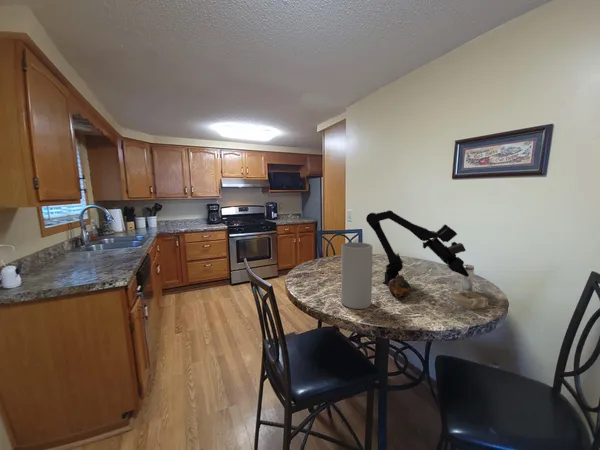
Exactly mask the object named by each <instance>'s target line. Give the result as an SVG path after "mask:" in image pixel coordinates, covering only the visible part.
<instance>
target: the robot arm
mask: <svg viewBox="0 0 600 450" xmlns="http://www.w3.org/2000/svg"><path fill="white" fill-rule="evenodd" d="M365 220H366V223H367V224H368V225H369V226H370V228H371V229H372V230H373V231H374V233H375V235H376V237H377V238H378V240H379V242H380V244H381V246H382V249H383V250H384V252H385V254H386V256H387V260H388V264H387V265H386V266H385V272H384V281H382V284H384V285H386V286H388V283H389V282H390V281H391V280H392V279H394V278H396V276H398V275H400V273H399V272H401V271H402V269H403V268H404V266H403V264H404V261H403V259H402V258H401V257H400V253H396V252H395V251H394V249H393V247H392V246H391V244H390V241H389V240H388V237H387V236H386V234H385V232H384V229H383V228H382V225H381V222H380V221H386V220H391V221H393V222H394V223H395V224H398V225H399V226H401V227H403V228H404V229H406V230H408V231H409V232H411V233H412V234H413V235H414V236H415V237H416V238H418V239H419V240H420V241H422V248H423V249H426V248H428V249H430V250H431V251H432V252H433V253H434V254H435V255H436V256H437V257H438V258H439V259H440V260H441V261H442V262H443V263H444V264H446V267H448V269H449V270H450V271H452V272H455V273H457V274H459V275H462V276H463V275H464V276H466V277H468V276H469V274H468V273H467V271H466V270H465V268H464V267H463V265H465V262H464V261H463V259H462V258H460V257H459V256H457V254H460V253H462V252H463V253H464V252H466V248H465V246H464V244H463V243H461V242H456V241H451V240H452V239H454V238H455V237H456V236H457V235H458V233H457V232H456V231H455V230H454V229H453V228H451V227H450V226H448V225H447V224H443V225H442V226H441V227H440V228H439V229H438V230H436V231H434V230H429V229H427V228H425V227H423V226H422V225H421V226H420V225H418V224H416V223H412V222H411V221H409V220H407V219H406V218H403V217H402V216H401V215H398V214H397V213H395V212H393V210H389V209H388V210H386V211H383V212H377V213H376V212H370V213H368V214H367V215H366V218H365ZM450 241H451V243H450V244H451V245H449V246H447V245H445V244H444V243H449V242H450Z"/></svg>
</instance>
